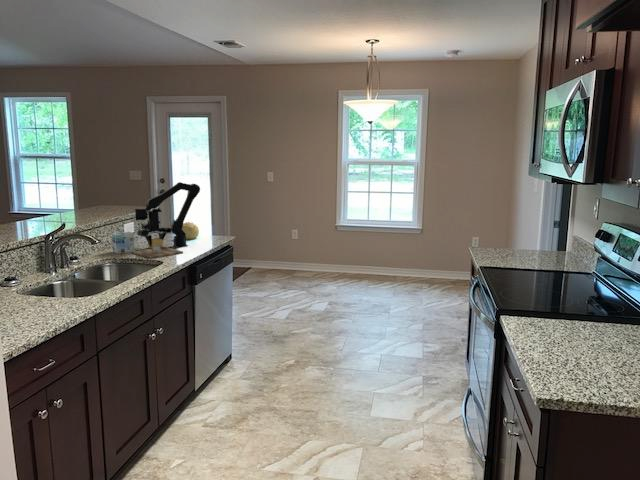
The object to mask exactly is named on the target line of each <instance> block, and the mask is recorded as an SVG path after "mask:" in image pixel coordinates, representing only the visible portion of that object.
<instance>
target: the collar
mask: <svg viewBox="0 0 640 480" xmlns="http://www.w3.org/2000/svg"><path fill="white" fill-rule="evenodd" d="M147 246H148V247H147V248H148V249H152V248H153V247H154V246H161V247H164V246H163V241H162V239H160V238H159V237H155V238H154V237H153V238H152V244H151V247H150V246H149V244H148V243H147Z"/></svg>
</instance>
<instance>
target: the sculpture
mask: <svg viewBox="0 0 640 480" xmlns="http://www.w3.org/2000/svg"><path fill="white" fill-rule="evenodd" d="M182 230H183V231H184V232H185V233H186V235H185V236H186V240H193V239H197V237H198V236H199V232H200V229H199V226H197V224H195V223H194V222H189V221H188V222H183V227H182Z"/></svg>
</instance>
